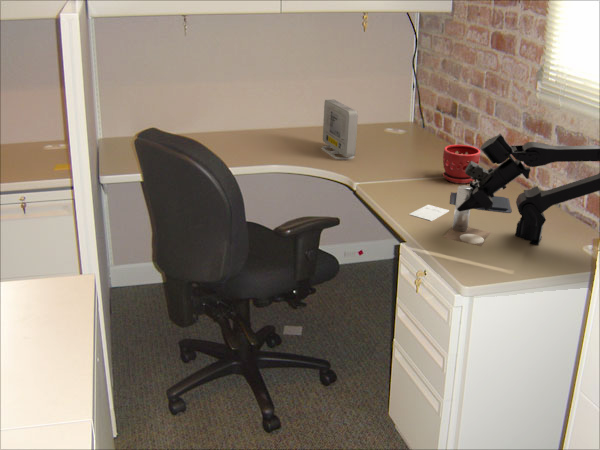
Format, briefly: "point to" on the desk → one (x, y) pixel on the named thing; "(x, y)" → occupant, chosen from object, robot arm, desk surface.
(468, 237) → the board
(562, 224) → the desk surface
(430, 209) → the external hard drive
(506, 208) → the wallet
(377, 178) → the desk surface
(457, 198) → the steel pin
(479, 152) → the plant pot
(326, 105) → the network device
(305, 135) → the desk surface
